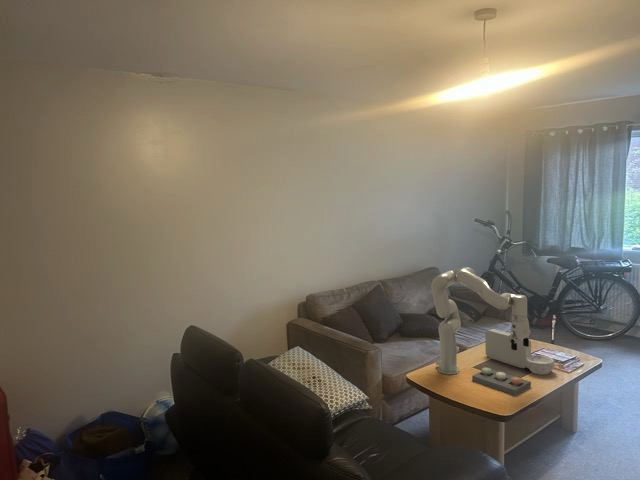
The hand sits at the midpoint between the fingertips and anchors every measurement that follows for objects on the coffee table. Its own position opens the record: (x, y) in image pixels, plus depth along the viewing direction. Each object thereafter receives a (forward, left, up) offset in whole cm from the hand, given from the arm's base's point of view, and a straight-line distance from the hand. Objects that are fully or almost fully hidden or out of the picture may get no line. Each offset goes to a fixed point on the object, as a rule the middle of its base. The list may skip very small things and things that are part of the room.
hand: (520, 348), depth 251 cm
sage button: (-17, -6, -18) cm, 25 cm away
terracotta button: (+1, -6, -18) cm, 19 cm away
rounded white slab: (-23, +26, -22) cm, 41 cm away
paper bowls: (-2, +25, -22) cm, 33 cm away
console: (-8, -6, -21) cm, 23 cm away
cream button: (-8, -6, -18) cm, 21 cm away
